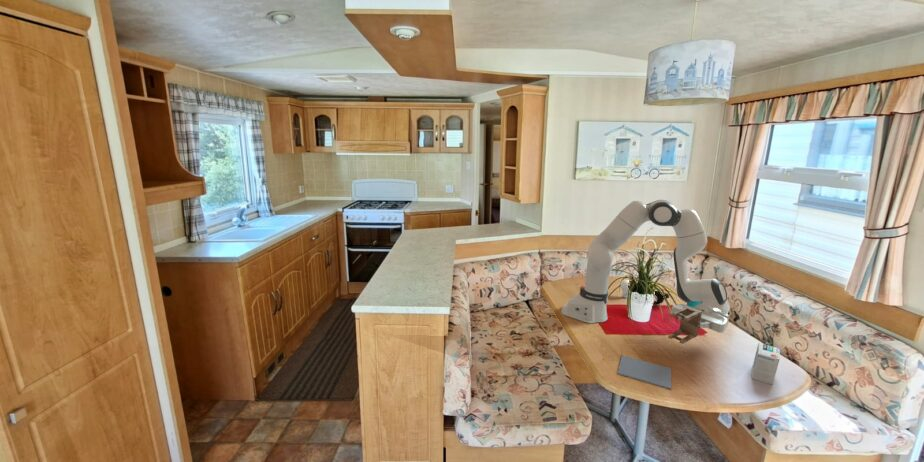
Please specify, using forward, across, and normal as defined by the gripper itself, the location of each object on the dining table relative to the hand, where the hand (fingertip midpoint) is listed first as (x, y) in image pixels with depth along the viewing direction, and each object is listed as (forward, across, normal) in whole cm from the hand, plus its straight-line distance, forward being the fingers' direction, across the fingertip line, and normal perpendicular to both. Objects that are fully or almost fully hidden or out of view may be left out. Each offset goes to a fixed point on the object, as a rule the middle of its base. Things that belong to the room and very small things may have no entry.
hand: (689, 322), depth 152 cm
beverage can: (-47, -18, +16) cm, 52 cm away
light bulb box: (-14, +23, +16) cm, 32 cm away
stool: (+4, 0, +6) cm, 7 cm away
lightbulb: (-35, -49, +17) cm, 62 cm away
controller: (-42, -34, +16) cm, 57 cm away
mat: (+24, -3, +16) cm, 29 cm away
